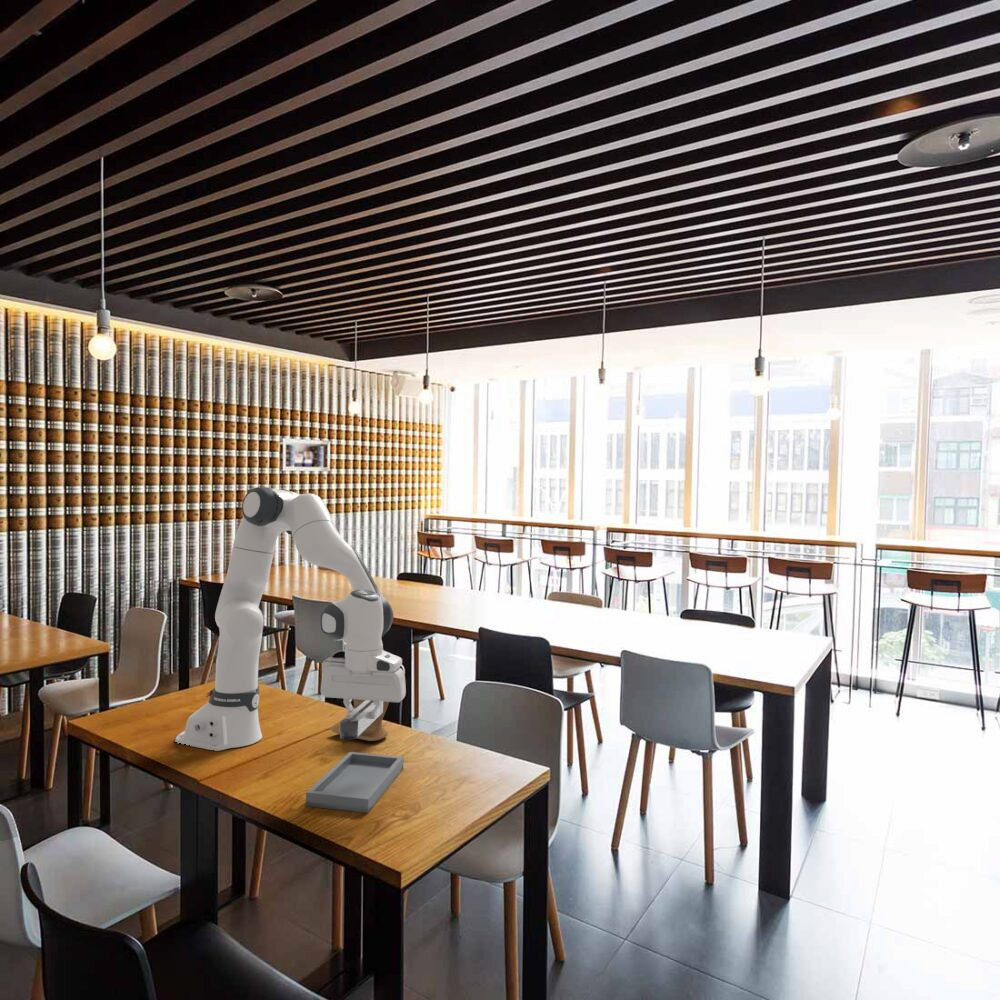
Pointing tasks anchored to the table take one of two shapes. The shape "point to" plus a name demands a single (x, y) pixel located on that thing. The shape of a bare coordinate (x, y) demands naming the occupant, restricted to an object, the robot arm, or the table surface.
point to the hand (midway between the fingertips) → (362, 717)
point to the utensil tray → (355, 782)
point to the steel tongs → (358, 720)
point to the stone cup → (374, 729)
